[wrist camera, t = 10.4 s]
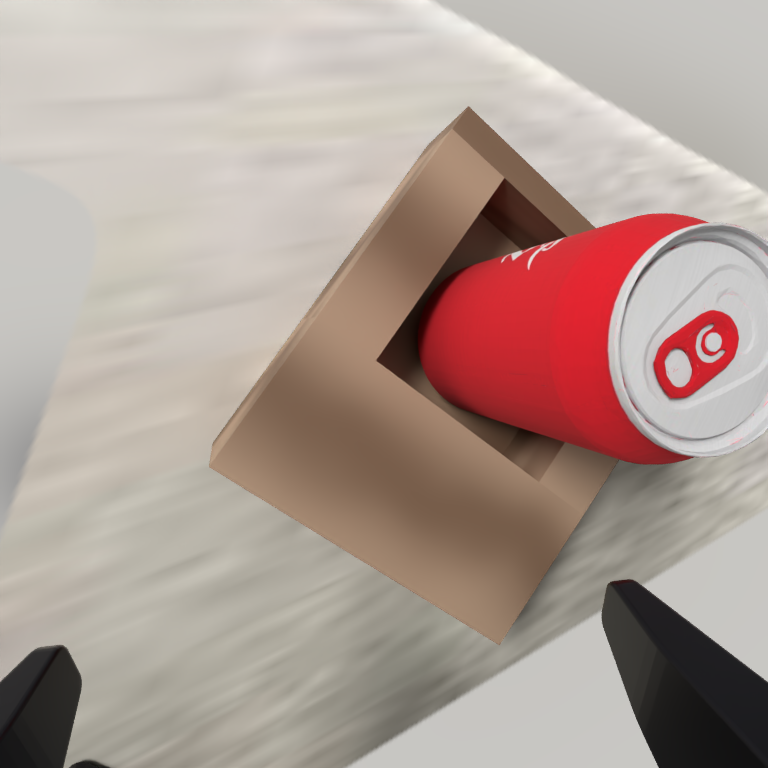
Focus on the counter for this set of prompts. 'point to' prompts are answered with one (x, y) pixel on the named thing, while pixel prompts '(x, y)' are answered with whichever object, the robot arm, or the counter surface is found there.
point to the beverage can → (613, 339)
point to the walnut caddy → (418, 401)
